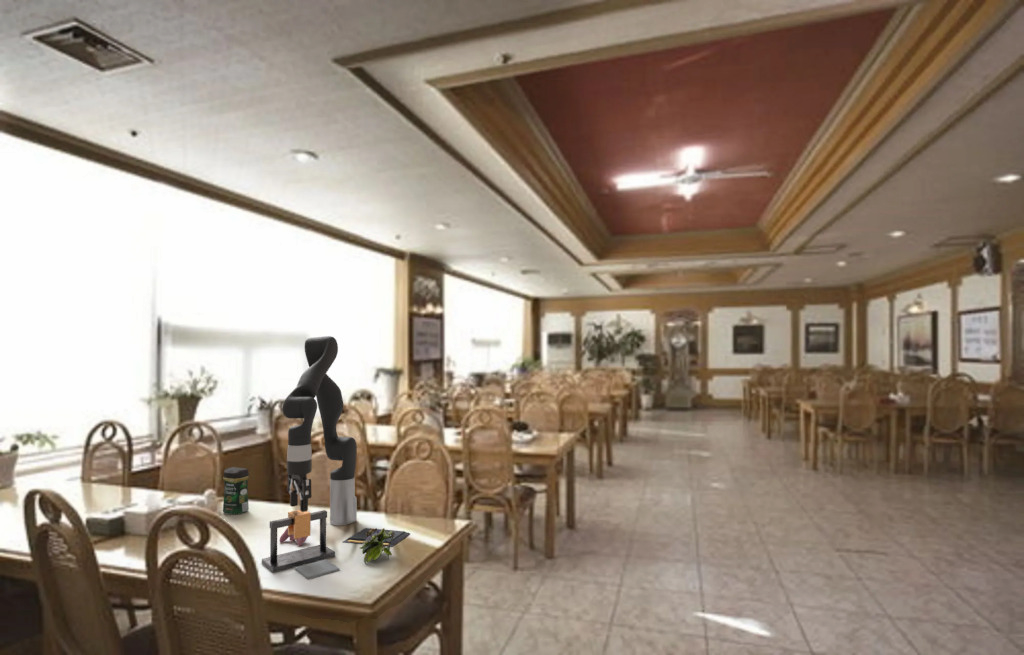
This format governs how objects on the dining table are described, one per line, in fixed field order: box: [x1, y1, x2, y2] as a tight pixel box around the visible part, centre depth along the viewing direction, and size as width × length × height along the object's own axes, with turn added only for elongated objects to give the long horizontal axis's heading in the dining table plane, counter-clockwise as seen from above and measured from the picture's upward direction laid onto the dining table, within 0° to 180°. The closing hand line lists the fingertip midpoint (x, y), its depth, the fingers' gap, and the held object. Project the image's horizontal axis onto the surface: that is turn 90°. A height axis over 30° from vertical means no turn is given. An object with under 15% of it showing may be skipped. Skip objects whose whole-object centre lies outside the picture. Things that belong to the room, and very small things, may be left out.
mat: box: [294, 559, 340, 580], centre depth 176 cm, size 10×10×1 cm
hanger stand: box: [261, 509, 336, 574], centre depth 184 cm, size 10×20×14 cm, turn 132°
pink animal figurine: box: [279, 527, 309, 547], centre depth 201 cm, size 10×5×7 cm, turn 66°
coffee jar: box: [222, 466, 250, 515], centre depth 238 cm, size 10×8×19 cm
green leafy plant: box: [359, 527, 394, 565], centre depth 185 cm, size 11×11×12 cm
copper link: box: [287, 509, 312, 539], centre depth 184 cm, size 6×5×7 cm
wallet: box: [342, 527, 411, 548], centre depth 205 cm, size 20×2×15 cm
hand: (298, 508), depth 184 cm, fingers open, 8 cm apart
